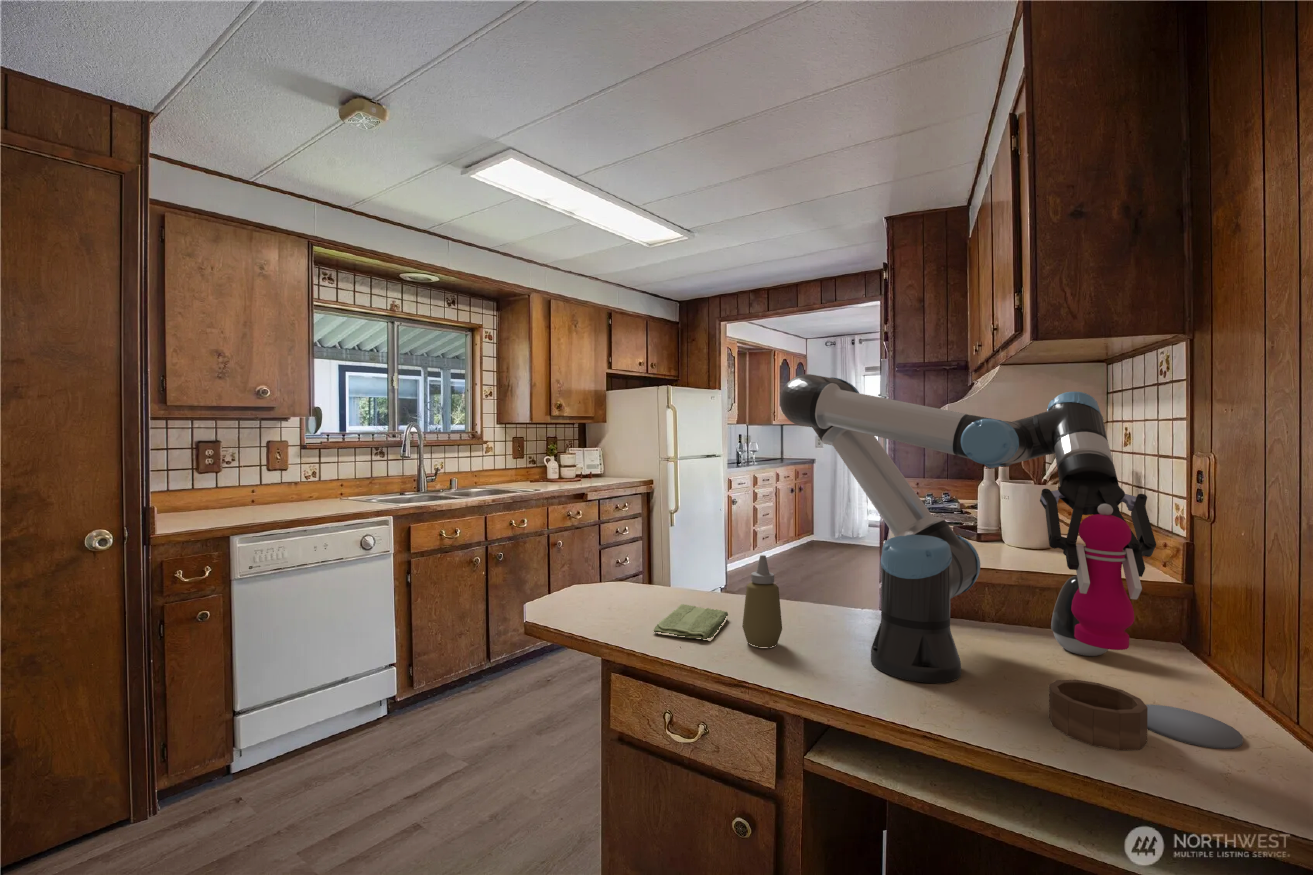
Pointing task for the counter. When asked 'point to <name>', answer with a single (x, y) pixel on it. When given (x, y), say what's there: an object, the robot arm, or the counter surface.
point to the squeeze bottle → (762, 608)
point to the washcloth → (692, 622)
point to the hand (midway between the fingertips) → (1110, 590)
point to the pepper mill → (1104, 583)
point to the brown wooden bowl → (1098, 714)
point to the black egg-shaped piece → (1070, 622)
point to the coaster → (1192, 727)
